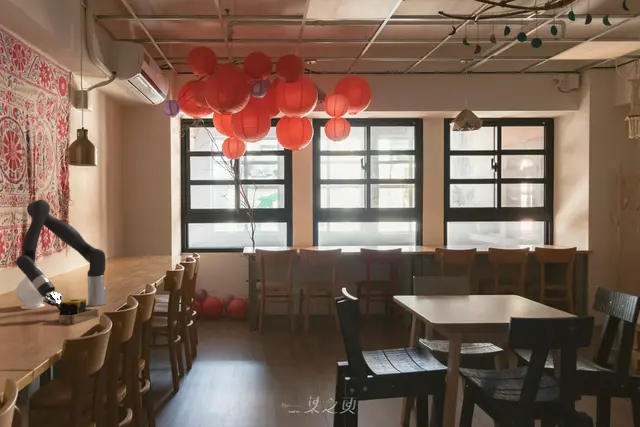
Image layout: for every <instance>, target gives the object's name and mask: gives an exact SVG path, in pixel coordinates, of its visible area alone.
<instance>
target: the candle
mask: <svg viewBox="0 0 640 427" xmlns="http://www.w3.org/2000/svg"><path fill="white" fill-rule="evenodd" d="M63 300H64V301H61V302H59V305H60V310H59V313H58V314H59V315H58V317H59V316H60V315H69V316H72V315H76V314H79V313H82V312H86V309H87V299H85V298H68V299H63Z"/></svg>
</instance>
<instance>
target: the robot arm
mask: <svg viewBox="0 0 640 427" xmlns="http://www.w3.org/2000/svg"><path fill="white" fill-rule="evenodd" d="M50 209H51V207H50V203H49V202H48V201H47V200H45V199H38V200H35V201H33V202H31V203H29V204H28V205H27V207H26V212H27V214H28V215H29V216H30V217H31V218H32V220H31V222H30V226H28V229H27V231H26V233H25V235H24V237H23V241H22V245H21V252H22V254H21V255H19V256H17V258H16V261H15V265H16V266H17V267H18V269H20V271H21V272H22V274H24V275H25V277H26V276H27V277H28V279H29V280H30V281H31V283H32V284H33V285H34V287H35V288H36V290H37V291H38V292H39V293H40V294H41V296H42V297H44V298H45V299H44V300H43V302H44V303H45V304H47V305H49V306H51V307H56V308H57V309H58V310H59V311H60V305H59V302H61V301H64V300H65V299H64V294H63V293H59V292H58V291H56V287H55V286H54V284H53V283H52V282H51V281H50V280H49V278H48V277H47V276H45V274H44V273H43V272H42V270H41V271H40V270H39V269H38V268H37V267H36V266H35V265H34V263H35V262H36V251H37V247H38V243H39V239H40V236H41V232H42V229H43V226H44V227H46V229H48V230H49V231H50V232H51V233H53V234H54V235H56V236H57V237H58V238H59V239H60V240H61V241H62V242H64V243H65V244H67V246H69V247H70V248H72V249H73V250H74V251H75V252H77V253H79V255H80V256H82V257H83V259H85V261H87V263H89V269H88V271H87V305H88V306H90V307H92V306H93V307H96V306H103V305H106V304H107V288H106V287H105V272H106V260H107V259H106V253H105V252H104V250H102V249H100V248H95V247H94V246H92V245H91V244H89V243H88V242H87V241H86V240H85V239H84V238H83V237H82V235H81V234H80V232H78V230H77V229H76V228H74V227H73V226H72V225H71V224H69V223H68V222H66V221H64V220H62V219H58V218H56V217H55V216H53V215H52V214H51V213H50Z"/></svg>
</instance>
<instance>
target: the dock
mask: <svg viewBox="0 0 640 427" xmlns="http://www.w3.org/2000/svg"><path fill="white" fill-rule="evenodd" d="M99 310H100V309H99V308H86V312H82V313H79V314H76V315H72V316H69V315H60V316H59V315H58V322H59V323H65V324H64V325H77V324H80V323H82V322H86V321H89V319H90V320H93V319H96V318H99V316H100V315H99V314H100V311H99Z"/></svg>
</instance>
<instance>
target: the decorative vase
mask: <svg viewBox="0 0 640 427" xmlns="http://www.w3.org/2000/svg"><path fill="white" fill-rule="evenodd" d="M34 265H35V266H36V267H37V268H38V269H39V270H40V271H41V272H42V269H41V267H40V263H34ZM15 296H16V298H17V299H18V300H19V301H20V302H21V303H22V304H23V305H21V306H20V309H23V310H31V309H33V310H34V309H39V308H40V309H41V308H44V307H45V306H46V303H45V304H44V303H43V302H44V301H43V300H44V299H45V298H44V297H42V296H41V294H40V293H39V292H38V291H37V290H36V288H35V287H34V285H33V284H32V283H31V281H30V280H29V279H28V277H27V276H26V275H25V277H24V278H23V279H22V280H21V281H20V282H19V283H18V284H17V286H16V287H15Z"/></svg>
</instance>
